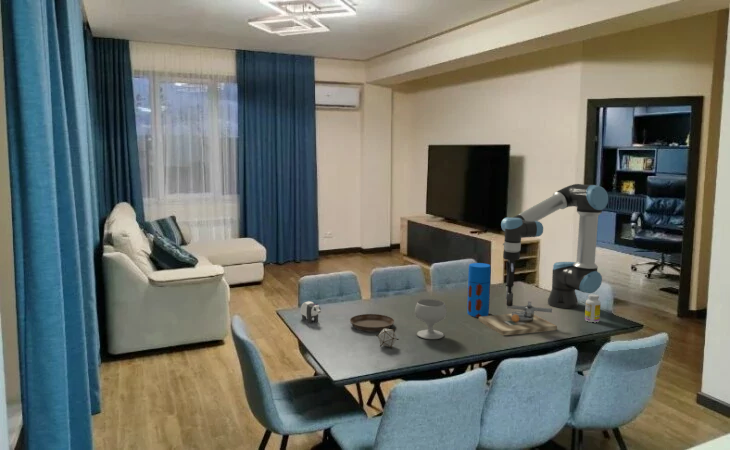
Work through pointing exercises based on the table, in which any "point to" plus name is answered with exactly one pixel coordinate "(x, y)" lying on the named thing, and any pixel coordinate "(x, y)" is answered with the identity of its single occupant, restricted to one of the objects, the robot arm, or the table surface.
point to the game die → (387, 337)
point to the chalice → (430, 316)
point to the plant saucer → (371, 322)
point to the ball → (515, 318)
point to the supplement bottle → (592, 308)
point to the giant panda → (310, 311)
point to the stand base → (516, 324)
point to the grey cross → (528, 310)
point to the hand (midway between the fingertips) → (508, 299)
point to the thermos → (478, 289)
